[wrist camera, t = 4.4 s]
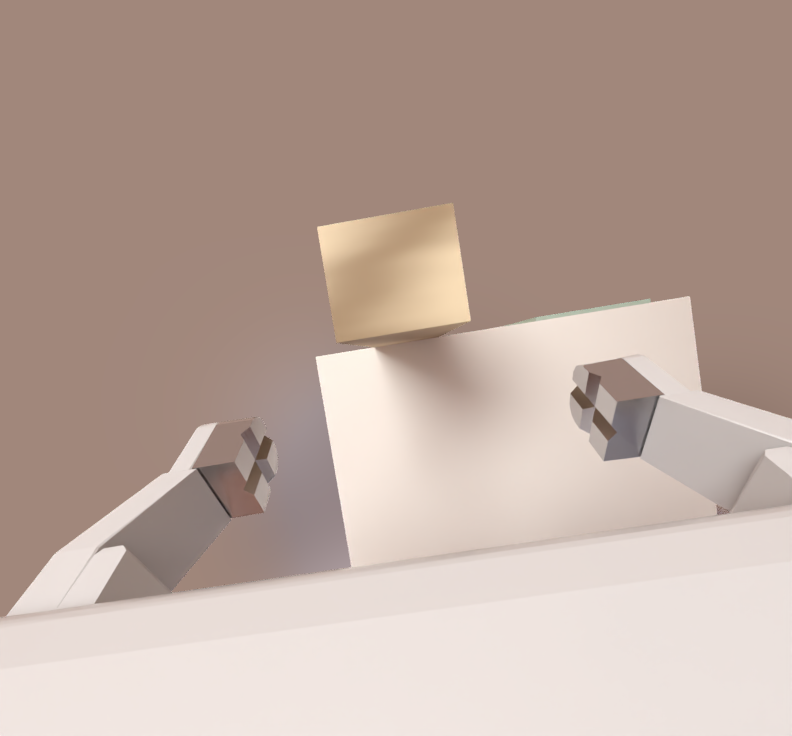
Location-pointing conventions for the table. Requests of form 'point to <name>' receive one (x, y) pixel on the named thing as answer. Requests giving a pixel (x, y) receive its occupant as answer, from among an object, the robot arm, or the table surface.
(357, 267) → the tan rectangular block
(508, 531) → the white cardboard box
